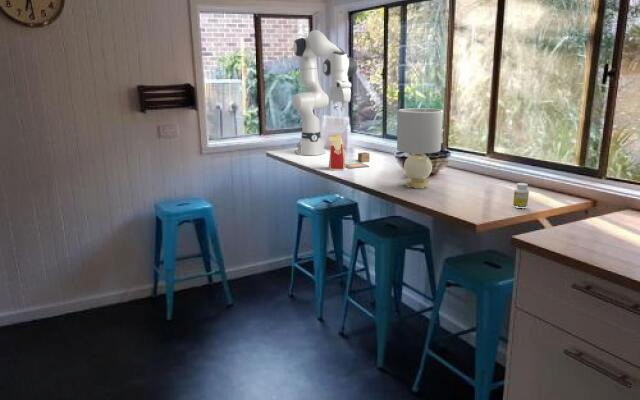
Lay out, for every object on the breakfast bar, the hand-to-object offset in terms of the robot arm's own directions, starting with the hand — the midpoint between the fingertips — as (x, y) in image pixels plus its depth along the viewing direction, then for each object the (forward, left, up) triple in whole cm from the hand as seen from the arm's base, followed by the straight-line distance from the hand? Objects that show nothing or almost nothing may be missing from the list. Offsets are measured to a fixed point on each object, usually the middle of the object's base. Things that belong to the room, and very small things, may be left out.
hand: (339, 110), depth 269 cm
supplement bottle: (+98, +36, -32) cm, 109 cm away
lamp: (+50, +18, -32) cm, 62 cm away
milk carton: (-2, -1, -32) cm, 32 cm away
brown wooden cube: (-15, +22, -32) cm, 42 cm away
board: (-7, +11, -32) cm, 35 cm away
